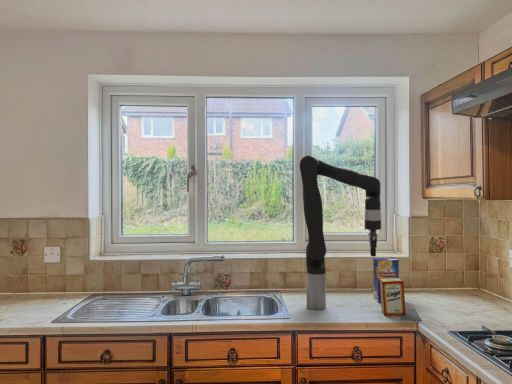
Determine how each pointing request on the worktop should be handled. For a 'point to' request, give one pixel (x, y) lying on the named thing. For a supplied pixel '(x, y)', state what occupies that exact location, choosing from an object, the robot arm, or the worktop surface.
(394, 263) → the blue cardboard box
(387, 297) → the baking soda box
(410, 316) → the mat
